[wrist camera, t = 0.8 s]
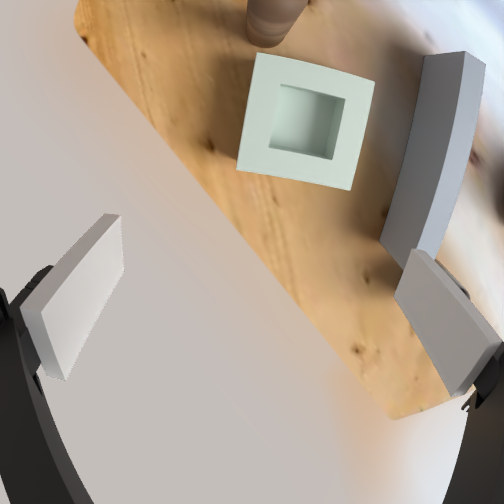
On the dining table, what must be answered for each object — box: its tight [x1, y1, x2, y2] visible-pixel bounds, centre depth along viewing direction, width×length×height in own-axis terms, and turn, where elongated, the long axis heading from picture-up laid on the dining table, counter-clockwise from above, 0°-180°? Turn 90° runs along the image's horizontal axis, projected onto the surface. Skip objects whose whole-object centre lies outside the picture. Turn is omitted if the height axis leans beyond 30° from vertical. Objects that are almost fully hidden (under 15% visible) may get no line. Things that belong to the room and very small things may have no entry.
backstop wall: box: [379, 51, 486, 271], centre depth 28 cm, size 24×3×8 cm, turn 170°
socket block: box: [236, 52, 375, 191], centre depth 28 cm, size 11×11×5 cm
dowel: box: [246, 0, 308, 48], centre depth 21 cm, size 4×4×12 cm
